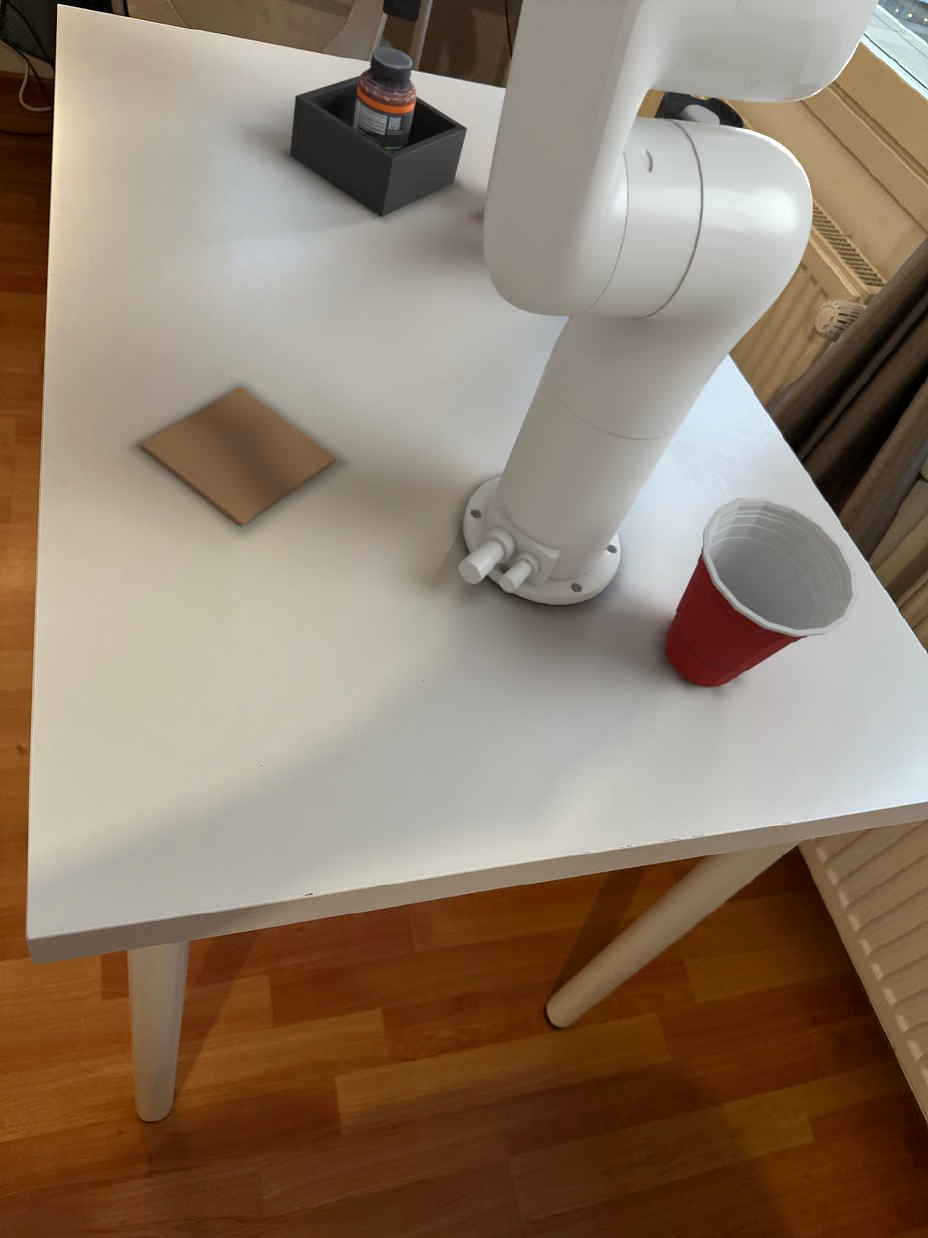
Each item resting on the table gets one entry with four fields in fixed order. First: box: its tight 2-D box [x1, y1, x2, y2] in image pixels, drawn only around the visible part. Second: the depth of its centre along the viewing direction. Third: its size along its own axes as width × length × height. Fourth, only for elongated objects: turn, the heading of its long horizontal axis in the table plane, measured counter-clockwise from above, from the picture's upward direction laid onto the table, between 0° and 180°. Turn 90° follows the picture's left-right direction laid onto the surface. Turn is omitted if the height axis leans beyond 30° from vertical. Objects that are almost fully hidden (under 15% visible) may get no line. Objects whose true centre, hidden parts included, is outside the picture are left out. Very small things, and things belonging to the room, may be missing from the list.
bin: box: [289, 75, 468, 218], centre depth 92 cm, size 13×13×6 cm
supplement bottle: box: [352, 46, 417, 153], centre depth 89 cm, size 6×6×11 cm
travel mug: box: [653, 91, 745, 129], centre depth 82 cm, size 8×8×20 cm
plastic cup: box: [664, 496, 858, 688], centre depth 61 cm, size 11×11×12 cm
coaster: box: [140, 386, 336, 527], centre depth 66 cm, size 10×10×1 cm
